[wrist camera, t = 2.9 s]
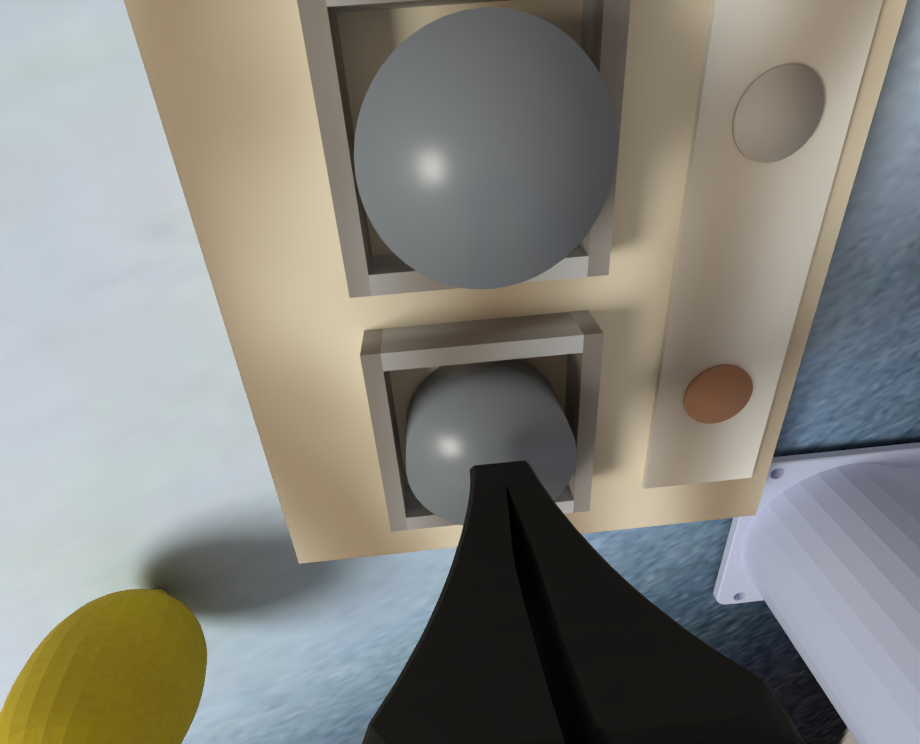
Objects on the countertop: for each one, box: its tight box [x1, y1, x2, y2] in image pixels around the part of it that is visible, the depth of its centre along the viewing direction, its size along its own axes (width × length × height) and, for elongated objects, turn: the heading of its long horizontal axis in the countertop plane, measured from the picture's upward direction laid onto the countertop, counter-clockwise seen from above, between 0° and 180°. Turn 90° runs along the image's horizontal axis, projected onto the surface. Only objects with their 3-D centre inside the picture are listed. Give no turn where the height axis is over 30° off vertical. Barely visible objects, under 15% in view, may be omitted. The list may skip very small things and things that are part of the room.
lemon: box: [0, 589, 207, 744], centre depth 18 cm, size 6×6×8 cm
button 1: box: [406, 359, 577, 525], centre depth 15 cm, size 4×4×2 cm
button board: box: [124, 0, 907, 564], centre depth 12 cm, size 16×26×3 cm, turn 4°
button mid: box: [354, 7, 617, 289], centre depth 10 cm, size 4×4×2 cm
